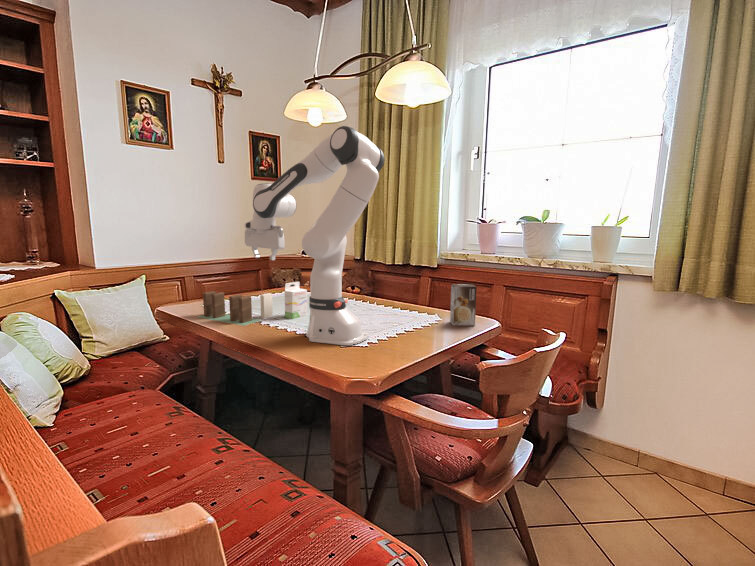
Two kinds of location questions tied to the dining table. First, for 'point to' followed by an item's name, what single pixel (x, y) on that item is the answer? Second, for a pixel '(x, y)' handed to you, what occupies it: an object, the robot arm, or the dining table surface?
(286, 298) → the ink box
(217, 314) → the domino
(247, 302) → the domino
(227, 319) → the felt mat
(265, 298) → the ivory domino
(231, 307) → the domino
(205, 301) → the domino
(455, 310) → the coffee box
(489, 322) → the dining table surface
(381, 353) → the dining table surface
